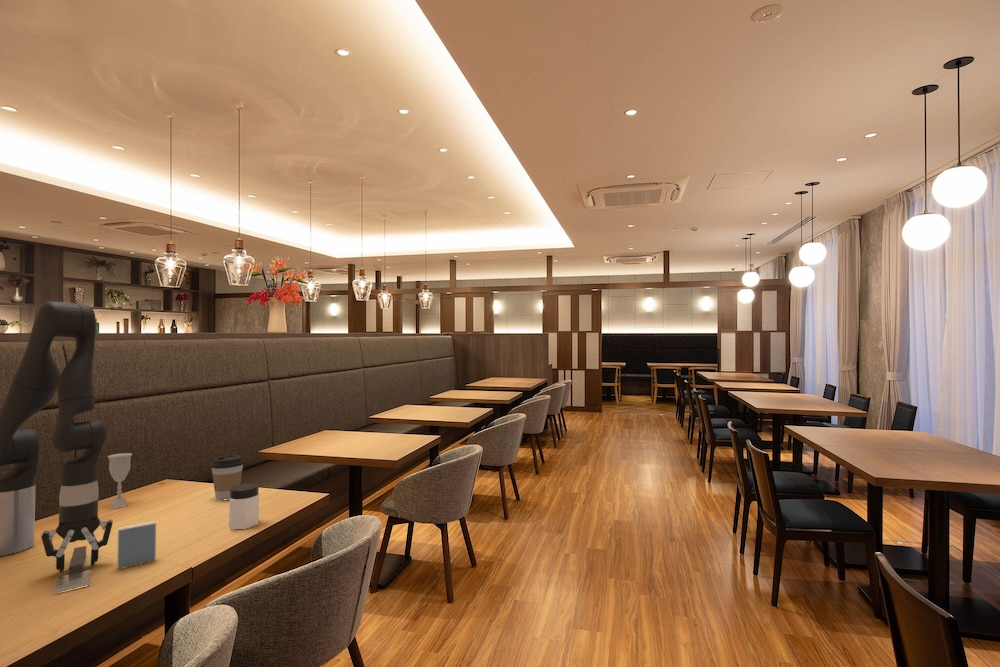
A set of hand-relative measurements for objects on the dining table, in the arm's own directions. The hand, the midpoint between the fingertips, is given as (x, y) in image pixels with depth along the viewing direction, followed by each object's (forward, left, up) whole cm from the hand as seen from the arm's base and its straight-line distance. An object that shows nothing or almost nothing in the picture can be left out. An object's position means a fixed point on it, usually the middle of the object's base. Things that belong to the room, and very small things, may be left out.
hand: (77, 566), depth 121 cm
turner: (0, -3, -1) cm, 3 cm away
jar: (+39, +7, -1) cm, 40 cm away
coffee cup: (+39, +42, -1) cm, 57 cm away
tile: (+12, -6, -1) cm, 13 cm away
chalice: (+7, +56, -1) cm, 56 cm away
